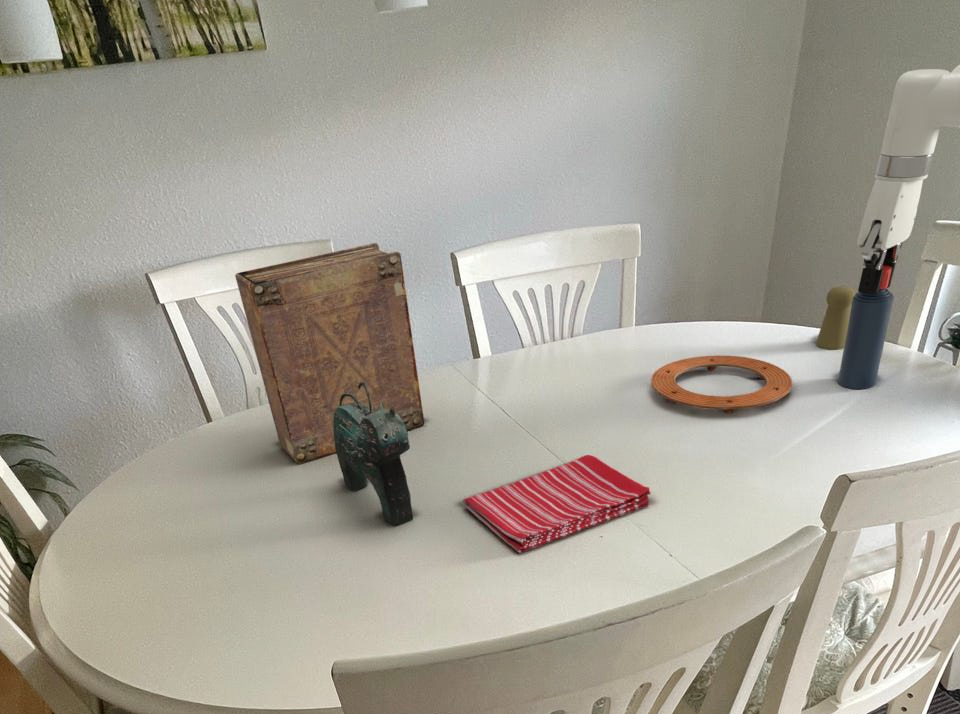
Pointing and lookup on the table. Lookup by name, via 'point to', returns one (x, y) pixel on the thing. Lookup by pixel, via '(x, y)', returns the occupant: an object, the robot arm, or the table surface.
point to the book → (331, 342)
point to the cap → (885, 276)
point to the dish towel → (557, 502)
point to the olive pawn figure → (836, 318)
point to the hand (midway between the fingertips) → (873, 288)
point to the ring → (771, 392)
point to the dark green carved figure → (374, 454)
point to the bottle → (865, 339)
